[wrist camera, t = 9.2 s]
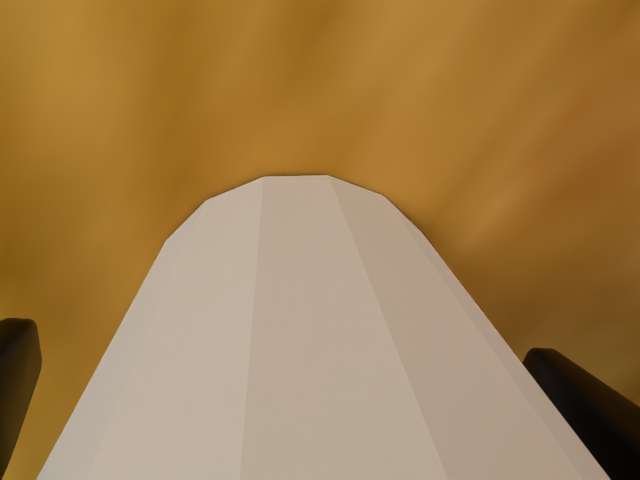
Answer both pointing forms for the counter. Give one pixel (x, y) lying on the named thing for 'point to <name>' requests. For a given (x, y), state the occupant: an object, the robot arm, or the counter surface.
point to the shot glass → (310, 357)
